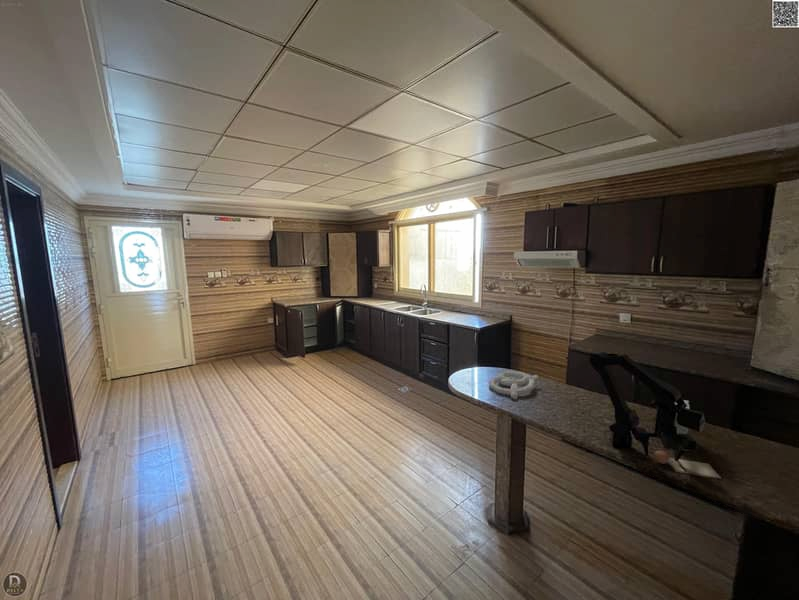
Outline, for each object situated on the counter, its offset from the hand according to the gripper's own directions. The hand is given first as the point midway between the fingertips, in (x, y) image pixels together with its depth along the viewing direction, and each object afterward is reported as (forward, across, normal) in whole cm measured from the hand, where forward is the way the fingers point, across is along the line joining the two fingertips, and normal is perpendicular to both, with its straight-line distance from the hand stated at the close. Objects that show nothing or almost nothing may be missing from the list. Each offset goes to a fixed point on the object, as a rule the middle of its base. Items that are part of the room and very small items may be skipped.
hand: (660, 458), depth 123 cm
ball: (+2, 0, 0) cm, 2 cm away
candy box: (+2, +12, +18) cm, 22 cm away
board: (+2, +10, 0) cm, 10 cm away
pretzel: (+2, -53, +53) cm, 75 cm away
